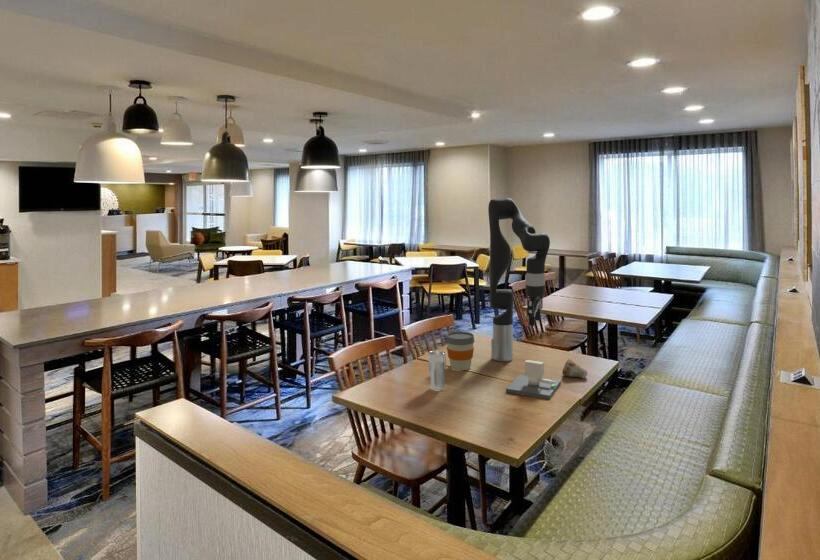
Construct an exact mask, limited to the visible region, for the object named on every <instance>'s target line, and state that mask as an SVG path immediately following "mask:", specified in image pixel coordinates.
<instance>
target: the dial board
mask: <svg viewBox="0 0 820 560" xmlns="http://www.w3.org/2000/svg"><path fill="white" fill-rule="evenodd" d="M542 379H548V380H551V384H548V383H541V382H540V384H539V385H537V386H533V385H529V384H528V376H525V374H519V375H518V376H517V377H516V378H515V379H514V380H513V381H512V382H511V383H510V384H508V386H507V387H505V393H508V392H510V393H509V394H514V393H516V394H515V395H520V394H523V395H522V396H526V395H529V396H528V397H532V396H535V397H534V398H539V397H542V398H541V399H545V398H547V399H546V400H550V399H551V398H552V397H553V395H554V394H555V393H556V392H557V390H558V389H559V387H560V386H561V384H562V383H561V380H560V379H555V378H549V377H547V378H546V377H543V378H542ZM554 392H555V393H554Z"/></svg>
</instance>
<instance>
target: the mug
mask: <svg viewBox="0 0 820 560" xmlns="http://www.w3.org/2000/svg"><path fill="white" fill-rule="evenodd" d="M588 373H589V372H588V371H587V369H585V368H583V367H581V366H580V365H579V364H578V363H576V362H575V361H574V360H572V359H566V361H565V364H564V366H563V369H562V375H564V376H565V377H571V378H572V377H573V378H575V377H576V378H581V379H586V378H587V376H588Z"/></svg>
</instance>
